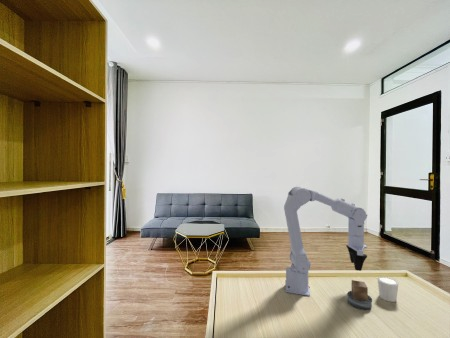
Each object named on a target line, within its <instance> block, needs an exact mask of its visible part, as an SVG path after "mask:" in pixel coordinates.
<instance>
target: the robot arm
mask: <svg viewBox="0 0 450 338" xmlns="http://www.w3.org/2000/svg"><path fill="white" fill-rule="evenodd" d="M315 201H316V202H318V203H322V204H324V205H327V206H328V207H330V208H331V210H332V211H333V212H335V213H338V214H340V215H342V216H345V217H347V218H348V225H347V226H348V233H347V235H348V237H347V239H348V240H347V241H348V243H347V245H346V248H347V251H348V255H349V259H350V260H349V261H350V263H352V264H353V266H354V270H355V271H360V272H361V271H362V269H363V265H364V262H365V261H366V259H367V258H368V255H367V253H366V254H365V253H364V250H365V249H368V245H366V244H365V221H366V220H367V218H368V214H367V212H366V210H365V209H364V208H362V207H359V206H356V204H354V203H350V202H347V201H346V200H345V198H336V199H333V198H331V197H328V196H326V195H325V194H323V193H319V192H318V191H314V190H311V189H308V188H304V187H303V188H302V187H301V186H294V187H293V188H291V189H290V190H289V191H288V193H287V197H286V200H285V203H284V207H283V210H284V215H285V220H286V226H287V227H286V228H287V232H288V238H289V243H290V249H289V250H290V253H289V260H290V262H291V265H290V266H289V267H288V266H287V267H286V268H285V281H284V283H285V292H286V293H290V294H296V295H303V296H308V297H309V296H310V295H311V293H310V292H311V291H310V285H309V270H310V269H311V261H310V260H309V259H308V255H307V253H306V251H305V248H304V244H303V237H302V233H301V227H300V221H299V216H298V210H300V209H301V207H302V206H305V205H306V204H308V203H309V202H315Z"/></svg>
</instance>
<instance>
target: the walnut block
mask: <svg viewBox="0 0 450 338" xmlns="http://www.w3.org/2000/svg"><path fill="white" fill-rule="evenodd" d="M351 291H352V292H351V293H352V295H353V297H354V299H359V300H365V301H368V294H369V293H368V292H369V289H368V286H367V284H366V282H365V281H360V280H353V279H352V280H351Z"/></svg>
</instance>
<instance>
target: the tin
mask: <svg viewBox="0 0 450 338" xmlns="http://www.w3.org/2000/svg"><path fill="white" fill-rule="evenodd" d="M351 292H352V290H349V291H348V292H347V293H346V295H347V303H348V304H349V305H350V306H351V307H353V308H355V309H356V310H360V311H361V310H362V311H369V310H371V309H372V307H373V304H372V302H373V298H372V297H371V296H370V295H368V301H365V300H359V299H354V297H353V295H352V293H351Z"/></svg>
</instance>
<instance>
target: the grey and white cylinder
mask: <svg viewBox="0 0 450 338" xmlns="http://www.w3.org/2000/svg"><path fill="white" fill-rule="evenodd" d="M377 287H378V294H379V295H378V296H379V298H381V300H384V301H386V302H391V303H394V302H397V300H398V290H399V282H398V280H396V279H393V278H391V277H388V276H387V277H386V276H379V277H377Z"/></svg>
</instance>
